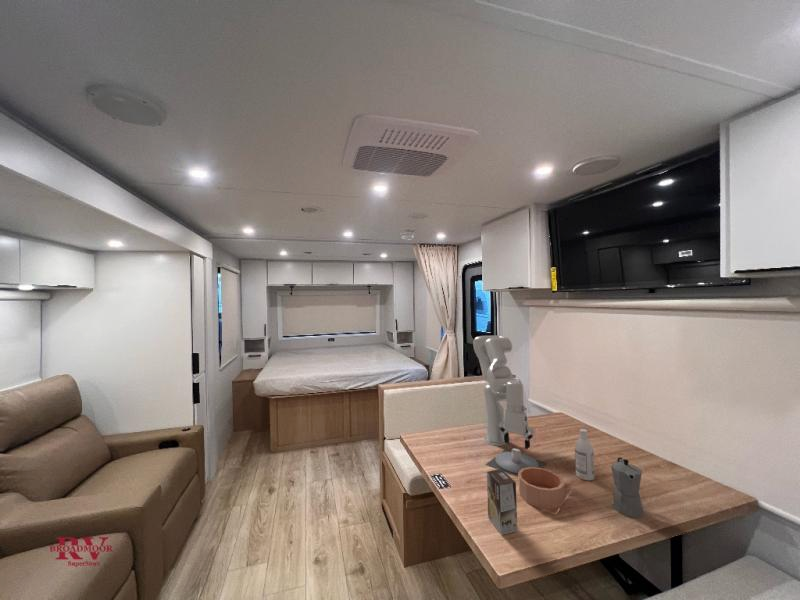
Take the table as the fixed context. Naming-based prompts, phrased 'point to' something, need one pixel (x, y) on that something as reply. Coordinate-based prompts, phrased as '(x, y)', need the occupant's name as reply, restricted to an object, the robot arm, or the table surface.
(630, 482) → the coffeepot
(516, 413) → the robot arm
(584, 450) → the bath foam
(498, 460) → the lid
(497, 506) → the coffee box
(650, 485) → the table surface
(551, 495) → the bowl
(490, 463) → the mat
